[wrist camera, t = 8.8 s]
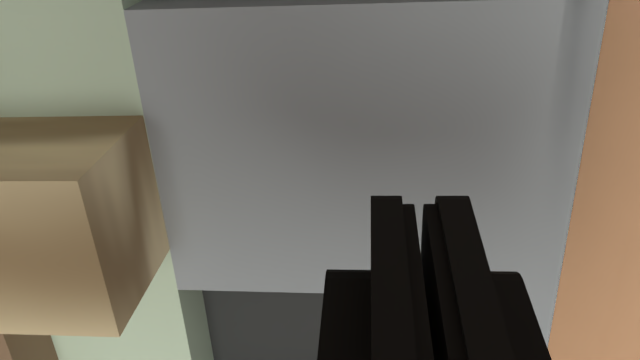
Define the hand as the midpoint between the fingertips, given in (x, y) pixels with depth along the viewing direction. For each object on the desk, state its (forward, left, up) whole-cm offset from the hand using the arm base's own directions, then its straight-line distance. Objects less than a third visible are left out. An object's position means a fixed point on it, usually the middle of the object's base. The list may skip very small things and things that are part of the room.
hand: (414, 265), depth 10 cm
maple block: (+2, -10, -6) cm, 12 cm away
